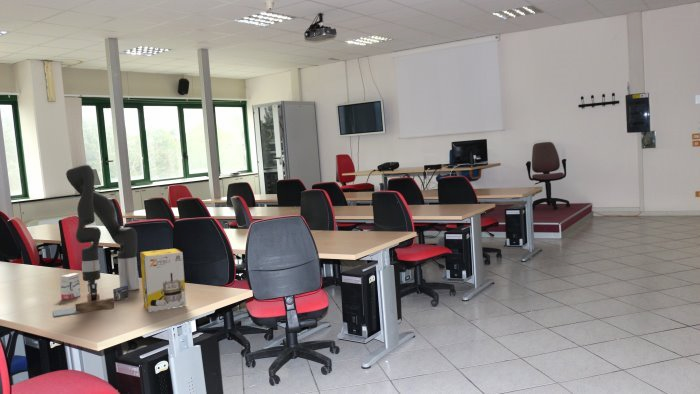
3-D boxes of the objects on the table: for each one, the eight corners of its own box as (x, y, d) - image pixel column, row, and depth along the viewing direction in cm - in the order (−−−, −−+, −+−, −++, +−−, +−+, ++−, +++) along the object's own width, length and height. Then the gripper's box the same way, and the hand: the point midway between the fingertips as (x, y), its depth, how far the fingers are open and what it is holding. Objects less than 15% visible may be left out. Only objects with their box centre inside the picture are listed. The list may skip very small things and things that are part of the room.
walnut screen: (113, 306, 262) (113, 297, 261) (114, 306, 260) (113, 298, 260) (75, 312, 254) (75, 303, 254) (76, 312, 252) (75, 304, 252)
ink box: (69, 299, 280) (67, 276, 280) (61, 299, 281) (59, 276, 281) (81, 295, 289) (79, 272, 288) (72, 295, 290) (71, 273, 289)
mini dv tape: (116, 301, 271) (115, 289, 271) (114, 301, 272) (113, 289, 271) (128, 297, 279) (127, 285, 279) (126, 297, 280) (125, 285, 279)
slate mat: (77, 308, 261) (77, 306, 261) (79, 313, 251) (78, 312, 251) (53, 311, 256) (53, 310, 256) (53, 317, 246) (53, 316, 246)
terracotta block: (99, 304, 266) (98, 292, 266) (100, 306, 262) (99, 293, 262) (87, 306, 264) (86, 293, 264) (88, 308, 260) (87, 295, 259)
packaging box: (148, 312, 247) (144, 256, 245) (143, 305, 261) (140, 252, 260) (186, 306, 254) (182, 252, 253) (179, 299, 268) (176, 248, 267)
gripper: (101, 270, 258) (103, 305, 258) (98, 266, 270) (100, 299, 271) (83, 272, 254) (86, 308, 255) (81, 268, 266) (83, 302, 267)
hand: (93, 303), depth 263 cm, fingers open, 7 cm apart
